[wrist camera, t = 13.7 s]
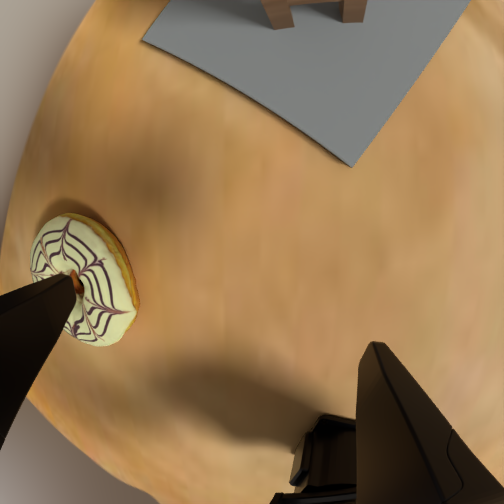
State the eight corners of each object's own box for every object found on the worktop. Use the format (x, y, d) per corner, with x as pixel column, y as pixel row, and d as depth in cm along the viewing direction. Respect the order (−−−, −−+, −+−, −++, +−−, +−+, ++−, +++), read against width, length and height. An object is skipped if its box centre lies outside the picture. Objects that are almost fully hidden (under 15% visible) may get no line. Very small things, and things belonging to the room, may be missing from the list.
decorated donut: (98, 346, 26) (74, 367, 22) (40, 250, 25) (11, 262, 21) (171, 305, 22) (145, 329, 19) (96, 184, 21) (61, 190, 18)
